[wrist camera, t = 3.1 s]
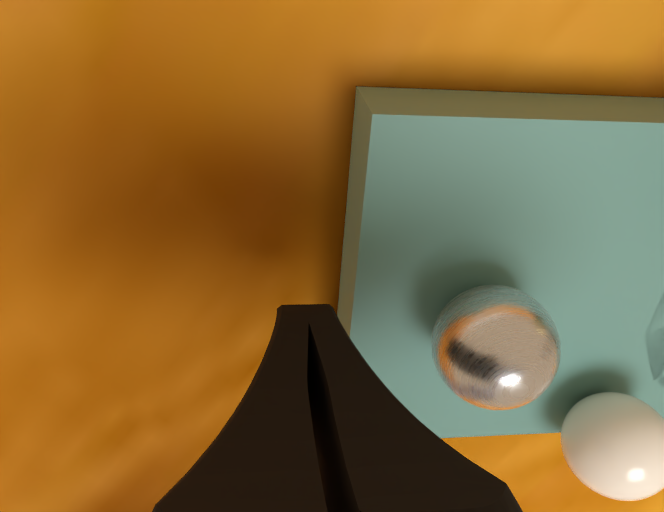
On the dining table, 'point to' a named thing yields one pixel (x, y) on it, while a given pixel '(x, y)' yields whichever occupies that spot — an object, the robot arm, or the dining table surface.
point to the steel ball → (496, 347)
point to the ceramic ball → (615, 445)
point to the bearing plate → (506, 239)
